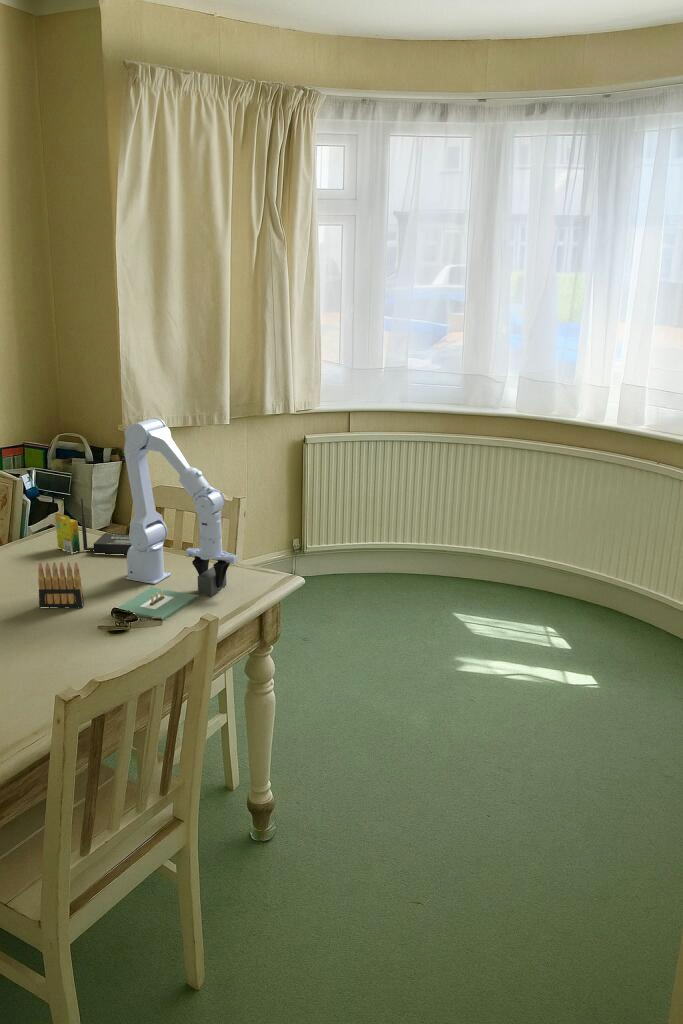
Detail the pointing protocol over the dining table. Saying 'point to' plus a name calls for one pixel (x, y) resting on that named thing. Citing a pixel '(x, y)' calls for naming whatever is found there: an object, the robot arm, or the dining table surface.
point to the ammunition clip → (60, 587)
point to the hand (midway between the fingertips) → (212, 585)
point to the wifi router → (106, 541)
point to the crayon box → (67, 533)
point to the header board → (158, 603)
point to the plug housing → (209, 583)
